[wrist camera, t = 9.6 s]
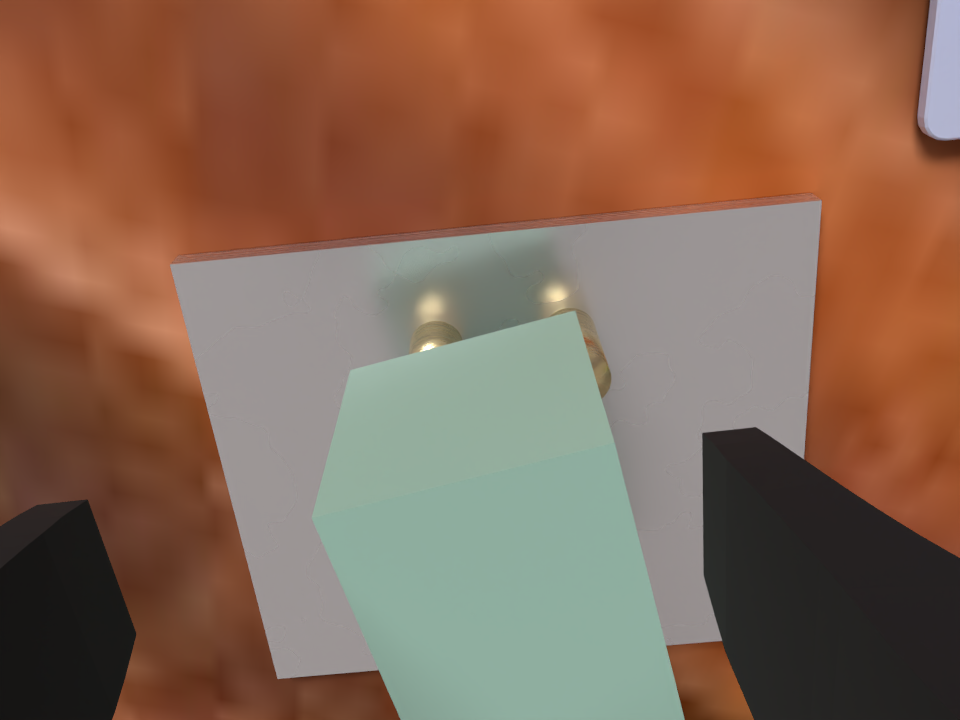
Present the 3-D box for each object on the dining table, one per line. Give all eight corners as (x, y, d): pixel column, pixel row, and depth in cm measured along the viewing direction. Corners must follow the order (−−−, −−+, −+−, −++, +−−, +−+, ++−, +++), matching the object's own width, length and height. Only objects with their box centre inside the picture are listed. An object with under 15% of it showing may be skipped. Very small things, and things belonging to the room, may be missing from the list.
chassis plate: (811, 192, 19) (821, 200, 19) (784, 619, 25) (791, 634, 24) (177, 255, 20) (169, 264, 19) (281, 662, 25) (277, 679, 24)
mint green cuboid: (574, 310, 17) (614, 442, 13) (662, 650, 21) (716, 845, 16) (350, 370, 18) (312, 517, 13) (475, 692, 21) (477, 892, 17)
